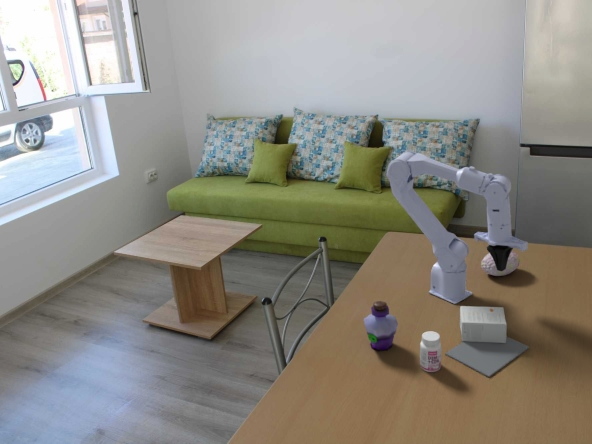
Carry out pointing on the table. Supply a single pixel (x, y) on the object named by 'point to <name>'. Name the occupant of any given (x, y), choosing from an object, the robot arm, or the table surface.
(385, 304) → the potion bottle
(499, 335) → the small box
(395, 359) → the table surface
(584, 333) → the table surface
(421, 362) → the pill bottle
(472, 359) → the mat
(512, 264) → the decorative item
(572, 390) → the table surface
